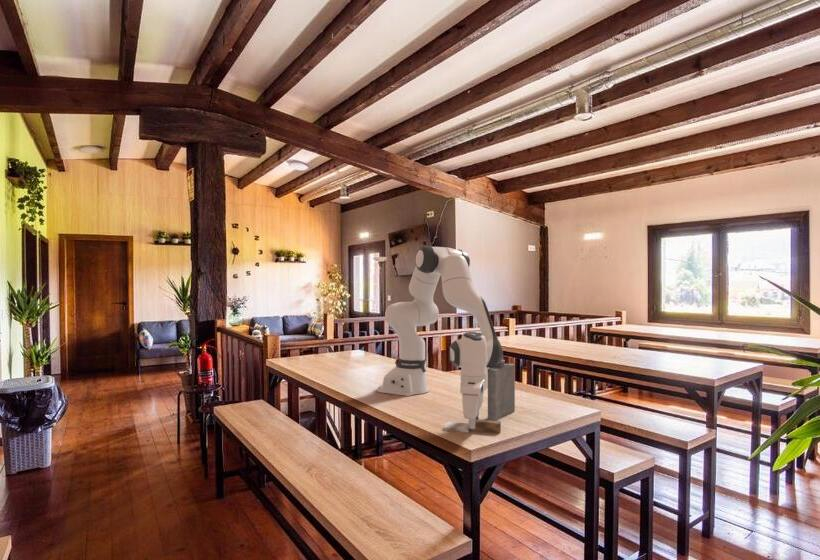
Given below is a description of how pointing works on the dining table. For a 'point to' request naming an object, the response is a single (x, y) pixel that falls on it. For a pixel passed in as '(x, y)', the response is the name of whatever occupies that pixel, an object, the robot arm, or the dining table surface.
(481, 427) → the spatula
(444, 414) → the dining table surface
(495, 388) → the hip flask
